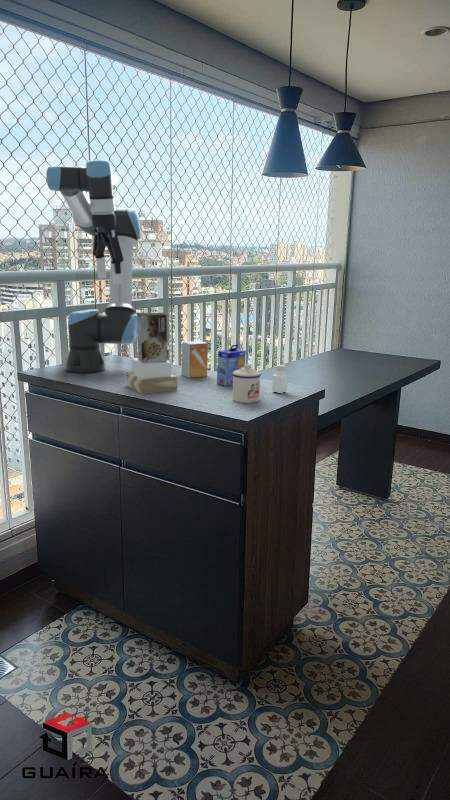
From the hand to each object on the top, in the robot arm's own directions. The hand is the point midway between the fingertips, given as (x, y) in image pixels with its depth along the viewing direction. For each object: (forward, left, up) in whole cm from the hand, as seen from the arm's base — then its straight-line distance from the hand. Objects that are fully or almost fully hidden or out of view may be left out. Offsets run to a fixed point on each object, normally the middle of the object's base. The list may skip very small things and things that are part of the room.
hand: (110, 280), depth 184 cm
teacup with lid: (+34, +34, -36) cm, 60 cm away
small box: (-5, +35, -36) cm, 50 cm away
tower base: (+7, +12, -36) cm, 39 cm away
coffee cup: (-14, +24, -36) cm, 45 cm away
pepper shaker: (+31, +49, -36) cm, 68 cm away
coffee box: (+7, +12, -27) cm, 30 cm away
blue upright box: (+12, +41, -36) cm, 56 cm away
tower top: (+6, +12, -31) cm, 34 cm away
